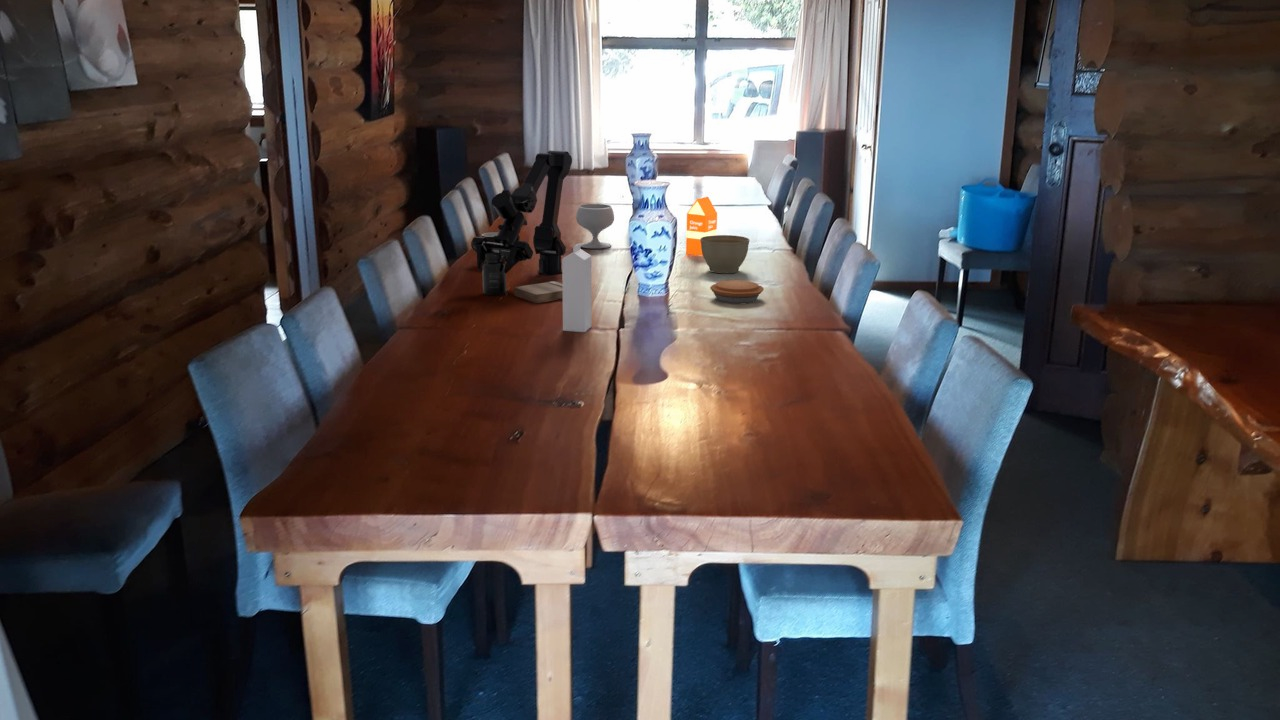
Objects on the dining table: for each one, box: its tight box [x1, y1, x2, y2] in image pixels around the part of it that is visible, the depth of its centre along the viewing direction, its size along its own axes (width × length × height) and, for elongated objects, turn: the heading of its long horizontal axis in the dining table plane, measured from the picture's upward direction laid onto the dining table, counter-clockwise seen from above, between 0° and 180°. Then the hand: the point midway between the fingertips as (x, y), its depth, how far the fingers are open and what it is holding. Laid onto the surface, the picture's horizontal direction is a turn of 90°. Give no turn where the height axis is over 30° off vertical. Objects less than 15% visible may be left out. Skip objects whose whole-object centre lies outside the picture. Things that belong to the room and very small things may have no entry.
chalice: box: [575, 203, 615, 250], centre depth 377 cm, size 14×14×15 cm
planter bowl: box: [700, 234, 750, 275], centre depth 337 cm, size 16×16×11 cm
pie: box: [709, 279, 765, 305], centre depth 299 cm, size 15×16×5 cm
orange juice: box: [685, 196, 718, 257], centre depth 365 cm, size 8×9×20 cm
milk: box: [561, 242, 592, 333], centre depth 262 cm, size 6×6×22 cm
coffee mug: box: [470, 232, 506, 265], centre depth 344 cm, size 12×9×10 cm
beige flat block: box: [513, 280, 563, 304], centre depth 300 cm, size 14×12×3 cm
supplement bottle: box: [481, 252, 507, 296], centre depth 302 cm, size 7×7×12 cm
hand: (491, 271), depth 300 cm, fingers open, 9 cm apart
